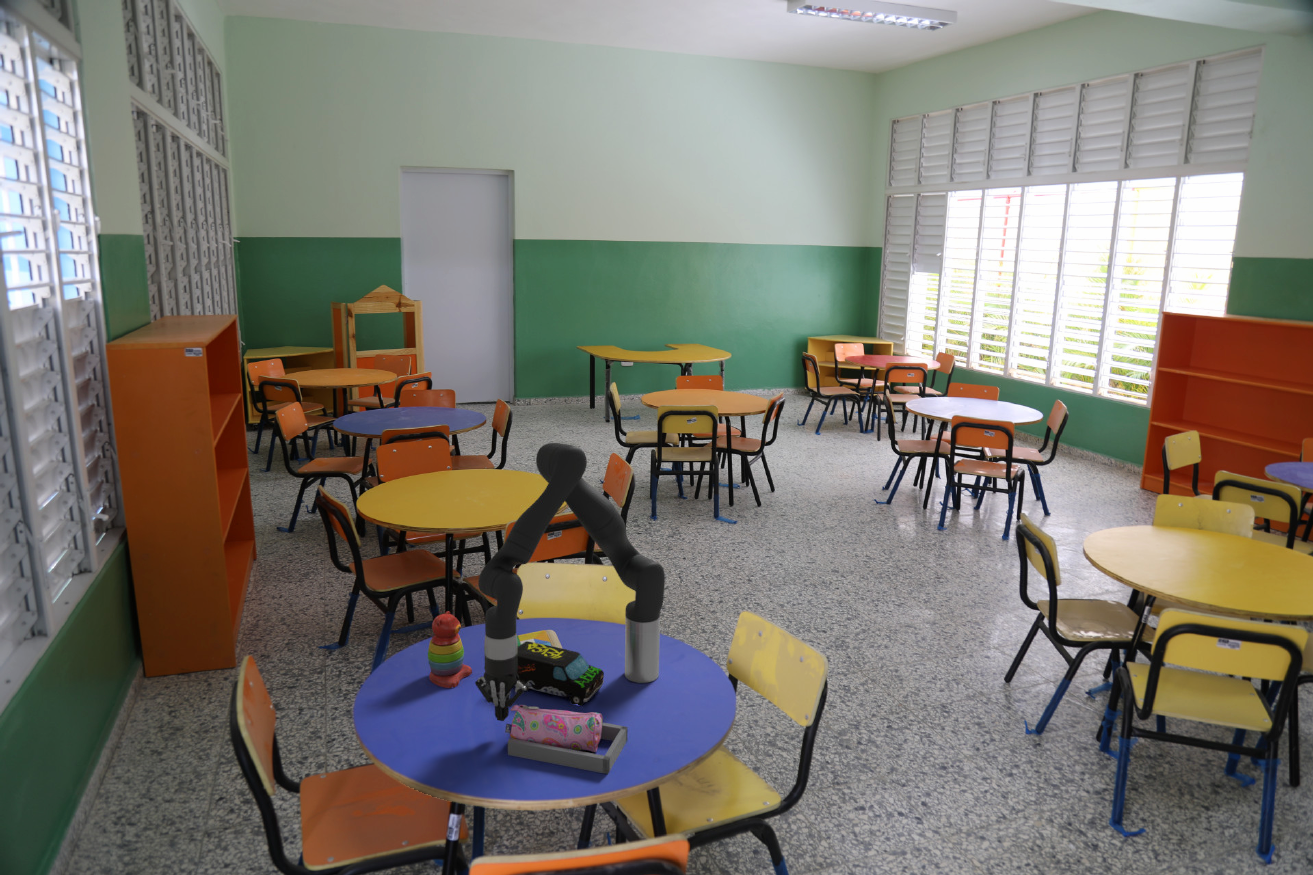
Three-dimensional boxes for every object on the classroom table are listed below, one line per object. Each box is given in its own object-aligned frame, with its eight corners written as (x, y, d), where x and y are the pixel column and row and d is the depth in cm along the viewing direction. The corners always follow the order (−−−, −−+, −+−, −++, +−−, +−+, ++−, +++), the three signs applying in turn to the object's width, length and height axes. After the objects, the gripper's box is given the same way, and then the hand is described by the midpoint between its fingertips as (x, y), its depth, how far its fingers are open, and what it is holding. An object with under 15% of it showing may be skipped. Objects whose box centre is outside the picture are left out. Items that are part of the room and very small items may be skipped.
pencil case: (504, 750, 194) (504, 714, 192) (518, 729, 203) (517, 694, 201) (595, 762, 191) (595, 725, 189) (605, 739, 199) (605, 704, 197)
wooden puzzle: (492, 642, 249) (491, 631, 248) (555, 635, 254) (555, 624, 253) (499, 670, 232) (499, 658, 232) (567, 661, 238) (567, 650, 237)
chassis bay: (533, 723, 206) (532, 710, 205) (627, 740, 199) (627, 726, 198) (507, 754, 193) (507, 740, 192) (608, 773, 186) (608, 759, 186)
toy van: (586, 709, 213) (587, 672, 211) (503, 687, 222) (502, 652, 220) (606, 689, 222) (606, 654, 220) (525, 670, 232) (524, 636, 230)
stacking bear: (453, 689, 221) (451, 626, 217) (419, 683, 224) (417, 620, 220) (475, 671, 231) (473, 609, 227) (442, 664, 234) (440, 604, 230)
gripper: (534, 648, 198) (534, 716, 201) (482, 639, 201) (483, 706, 205) (520, 662, 191) (520, 732, 194) (467, 653, 194) (468, 722, 198)
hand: (501, 718), depth 200 cm, fingers closed
